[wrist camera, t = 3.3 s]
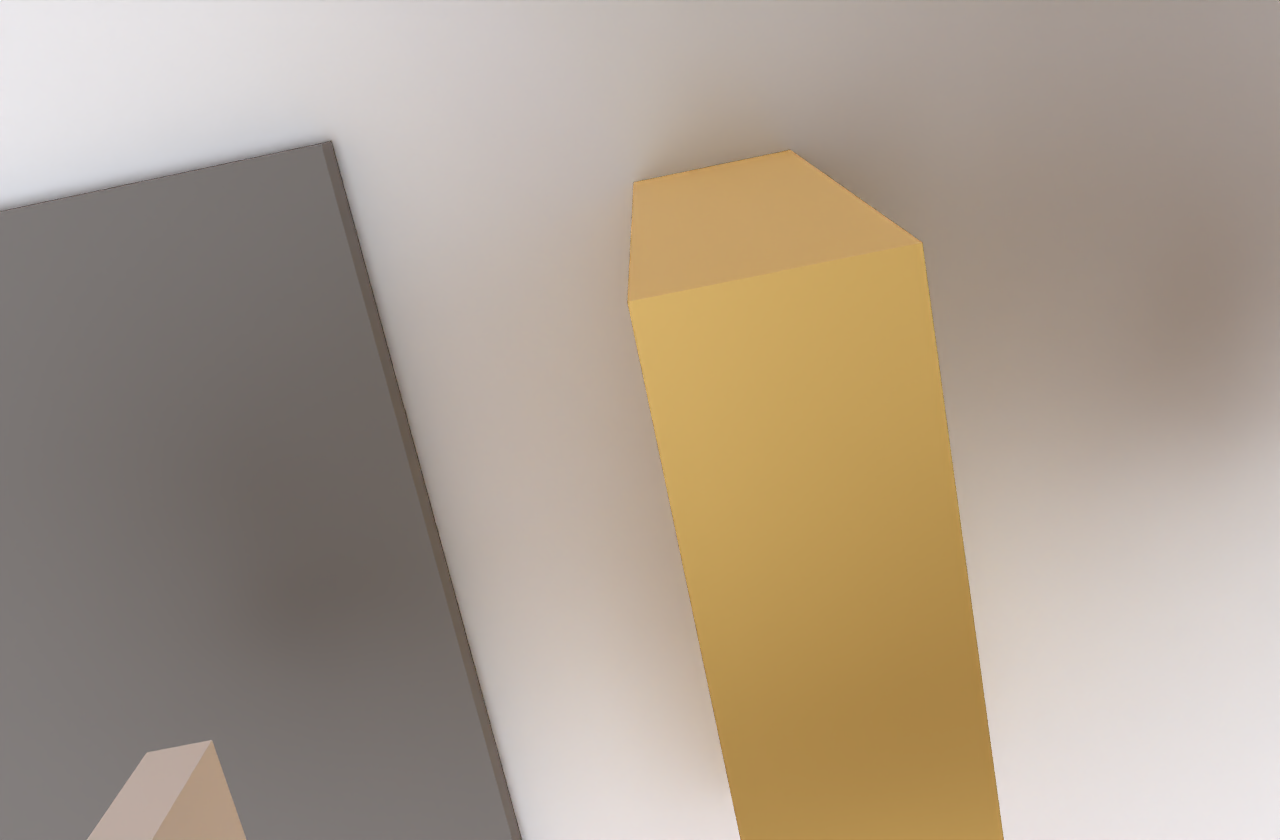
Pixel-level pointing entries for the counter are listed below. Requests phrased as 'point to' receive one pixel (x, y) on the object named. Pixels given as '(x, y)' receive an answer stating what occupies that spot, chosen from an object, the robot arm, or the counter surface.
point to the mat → (222, 520)
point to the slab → (813, 502)
